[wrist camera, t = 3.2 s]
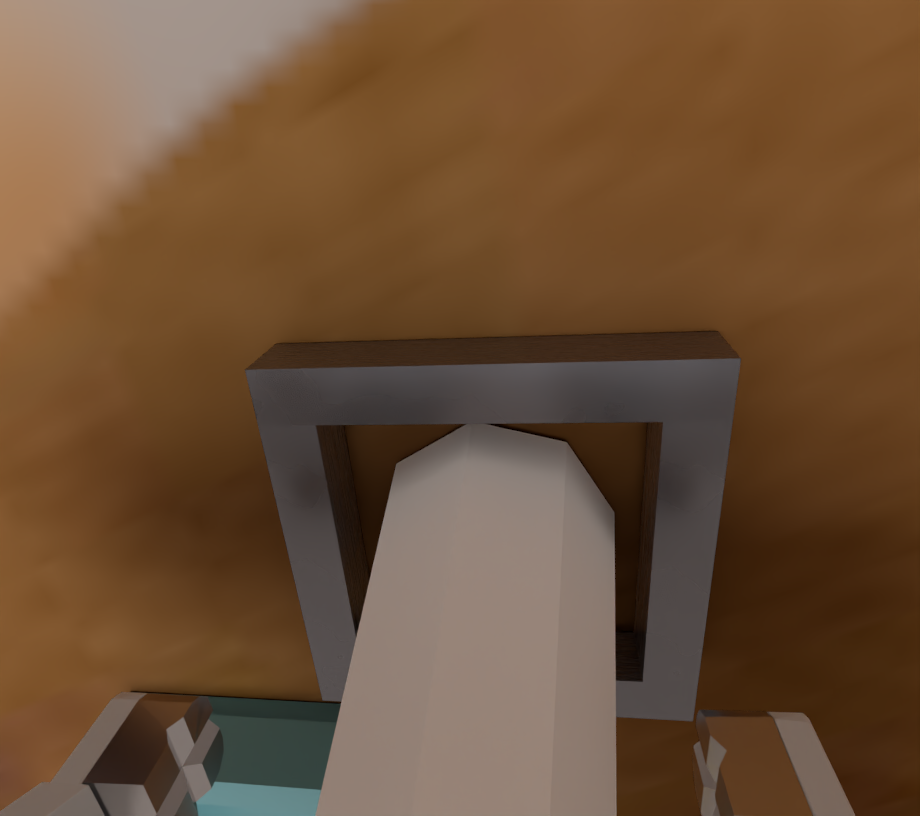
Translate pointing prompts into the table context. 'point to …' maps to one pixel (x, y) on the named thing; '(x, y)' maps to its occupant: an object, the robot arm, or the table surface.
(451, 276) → the table surface
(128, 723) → the robot arm
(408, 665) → the pepper shaker
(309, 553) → the gray square frame
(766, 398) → the table surface
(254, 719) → the tray
